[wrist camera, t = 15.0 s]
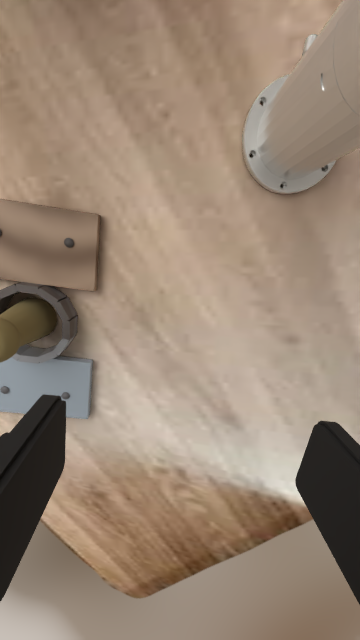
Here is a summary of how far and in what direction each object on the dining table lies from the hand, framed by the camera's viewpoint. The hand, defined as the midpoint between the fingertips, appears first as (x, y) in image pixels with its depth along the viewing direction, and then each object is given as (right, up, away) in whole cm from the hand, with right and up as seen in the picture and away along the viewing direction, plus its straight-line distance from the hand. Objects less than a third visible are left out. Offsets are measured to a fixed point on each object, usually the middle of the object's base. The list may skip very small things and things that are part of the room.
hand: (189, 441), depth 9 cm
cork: (-21, +5, +27) cm, 35 cm away
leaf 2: (-22, -3, +29) cm, 37 cm away
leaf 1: (-20, +11, +25) cm, 34 cm away
